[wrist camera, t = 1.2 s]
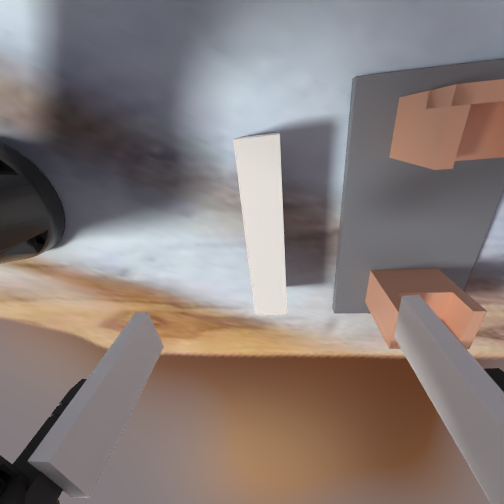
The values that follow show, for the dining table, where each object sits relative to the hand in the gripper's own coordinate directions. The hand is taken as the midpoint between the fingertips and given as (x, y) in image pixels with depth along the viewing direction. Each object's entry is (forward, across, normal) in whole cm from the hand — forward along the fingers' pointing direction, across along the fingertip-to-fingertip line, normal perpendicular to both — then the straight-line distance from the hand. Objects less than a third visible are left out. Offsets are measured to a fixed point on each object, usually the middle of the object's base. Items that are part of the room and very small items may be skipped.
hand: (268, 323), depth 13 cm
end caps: (+19, +16, -2) cm, 25 cm away
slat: (+19, -1, -1) cm, 19 cm away
